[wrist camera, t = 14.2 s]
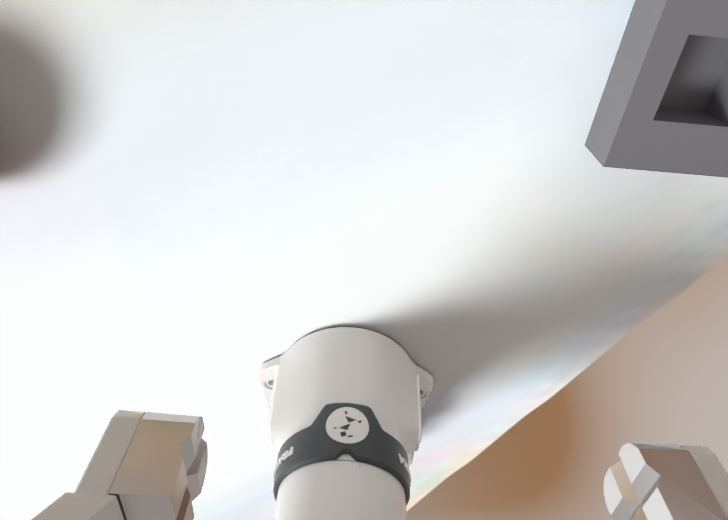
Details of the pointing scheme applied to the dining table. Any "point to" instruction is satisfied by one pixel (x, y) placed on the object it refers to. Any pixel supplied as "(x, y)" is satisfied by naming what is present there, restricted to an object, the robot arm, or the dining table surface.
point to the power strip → (667, 91)
